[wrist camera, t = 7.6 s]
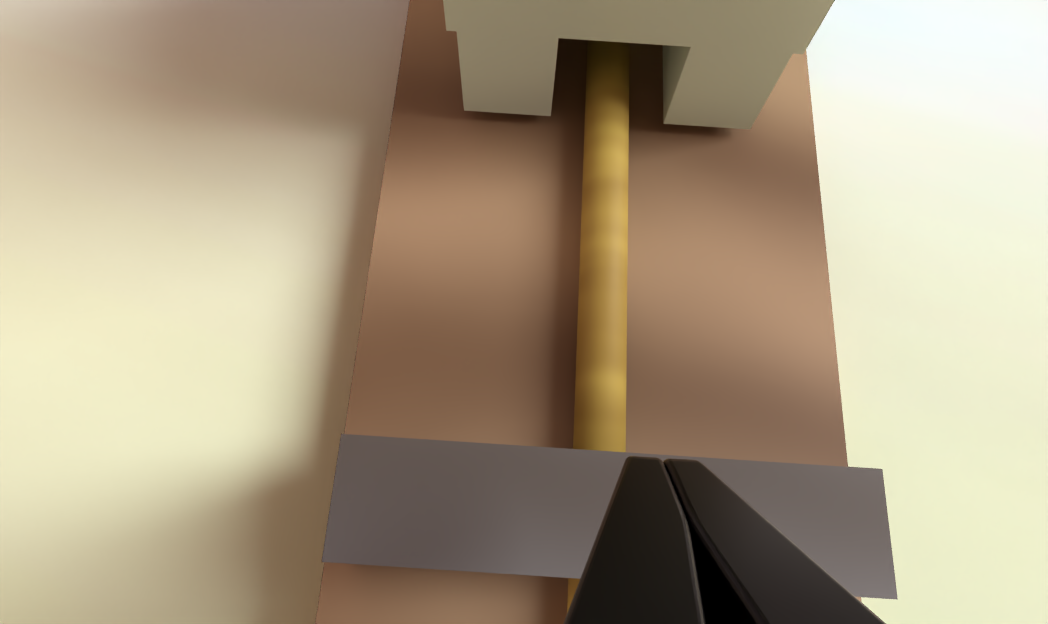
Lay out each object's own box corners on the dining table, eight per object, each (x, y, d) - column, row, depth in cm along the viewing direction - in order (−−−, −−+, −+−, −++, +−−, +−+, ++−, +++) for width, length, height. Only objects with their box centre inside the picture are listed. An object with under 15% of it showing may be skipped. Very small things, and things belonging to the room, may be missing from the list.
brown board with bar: (839, 686, 13) (1059, 768, 8) (326, 653, 13) (207, 713, 8) (768, -136, 21) (856, -368, 16) (443, -157, 21) (422, -398, 16)
